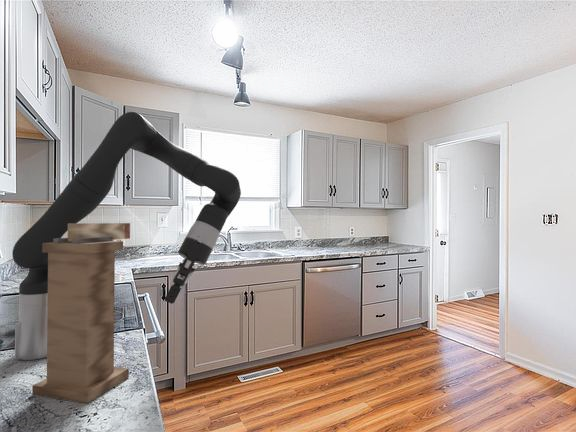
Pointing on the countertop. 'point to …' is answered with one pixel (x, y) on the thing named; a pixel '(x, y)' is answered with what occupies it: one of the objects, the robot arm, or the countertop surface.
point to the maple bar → (98, 230)
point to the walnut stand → (80, 320)
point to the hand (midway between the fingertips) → (168, 302)
